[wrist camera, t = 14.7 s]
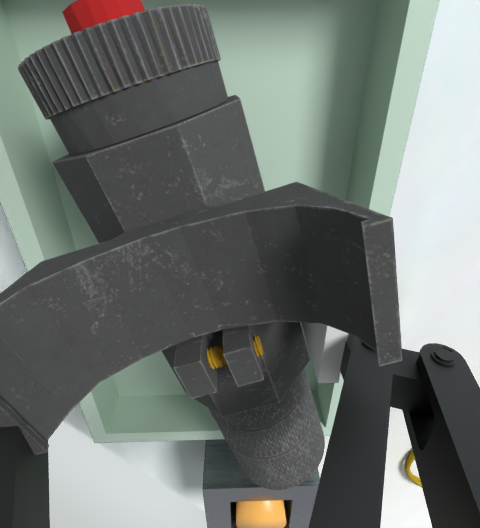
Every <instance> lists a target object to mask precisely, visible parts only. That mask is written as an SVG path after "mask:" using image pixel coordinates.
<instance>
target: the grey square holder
mask: <svg viewBox="0 0 480 528" xmlns="http://www.w3.org/2000/svg"><path fill="white" fill-rule="evenodd" d="M319 482H320V477H319V473H318V468H317V469H316V470H315V472H314V473H313V474H312V475H311V476H310V477H309V478H308V479H307V480H306V481H304V482H303V483H301V484H300V485H298V486H296V487H293V488H290V489H286V490H269V489H265V488H262V487H260V486H258V485H256V484H255V483H253V482H252V481H251V480H250V479H249V478H247V476H246V475H245V474H244V472H243V471H242V469H241V467H240V465H239V463H238V461H237V459H236V457H235V455H234V454H233V452H232V450H231V448H230V446H229V445H228V443H227V442H226V440H225V439H214V440H206V445H205V459H204V474H203V489H202V490H203V497H204V505H205V513H206V521H207V528H237V526H236V502H243V501H274V500H284V508H285V516H286V525H285V527H284V528H308V527H309V523H310V519H311V515H312V511H313V507H314V502H315V498H316V494H317V490H318V486H319Z"/></svg>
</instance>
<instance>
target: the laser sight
mask: <svg viewBox="0 0 480 528" xmlns="http://www.w3.org/2000/svg"><path fill="white" fill-rule="evenodd" d="M62 13H63V15H64V18H65V20H66V22H67V25H68V27H69V29H70V32H71V35H69V36H66V37H62V38H61V39H60V40H57V41H54V42H52V43H51V44H49V45H46V46H44V47H42V49H39V50H37V51H35V53H33V54H30V55H29V57H27V58H24V61H22V62H21V64H19V67H17V68H18V71H19V73H20V74H21V76H22V78H23V80H24V82H25V83H26V85H27V87H28V89H29V91H30V92H31V94H32V96H33V98H34V100H35V101H36V103H37V105H38V107H39V109H40V111H41V112H42V114H43V116H44V118H45V120H47V119H48V120H49V119H50V120H51V122H52V124H53V126H54V127H55V129H56V131H57V133H58V135H59V136H60V138H61V140H62V142H63V144H64V145H65V147H66V149H67V151H68V153H69V154H67V155H65V156H64V157H62V158H60V159H58V160H56V161H54V162H52V163H53V165H54V166H55V168H56V170H57V172H58V173H59V175H60V177H61V179H62V180H63V182H64V184H65V185H66V187H67V189H68V191H69V192H70V194H71V196H72V197H73V199H74V201H75V203H76V204H77V206H78V208H79V210H80V211H81V213H82V215H83V216H84V218H85V220H86V222H87V223H88V225H89V227H90V229H91V230H92V232H93V234H94V235H95V237H96V239H97V241H98V242H99V244H96V245H93V246H89V247H86V248H83V249H80V250H76V251H73V252H70V253H67V254H64V255H60V256H57V257H54V258H51V259H48V260H44V261H41V262H40V263H38V264H37V265H36V266H35V267H33V268H32V269H31V270H30V271H28V272H27V273H26V274H24V275H23V276H22V277H21V278H19V279H18V280H17V281H16V282H14V283H13V284H12V285H10V286H9V287H8V288H7V289H5V290H4V291H3V292H2V293H0V427H10V426H19V428H20V429H21V431H22V433H23V435H24V437H25V439H26V440H27V442H28V444H29V446H30V448H31V449H32V451H33V453H34V455H38V454H41V453H45V452H47V451H48V446H49V445H48V444H47V443H46V442H47V440H48V439H49V438H50V436H51V435H52V434H53V433H54V431H55V430H56V429H57V427H58V426H59V425H60V423H61V422H62V421H63V420H64V418H65V417H66V416H67V415H68V413H69V412H70V411H71V410H72V409H73V408H74V407H75V406H76V405H77V404H78V403H79V402H80V401H81V400H82V399H83V398H84V397H85V396H86V395H87V394H88V393H89V392H91V391H92V390H93V389H94V388H95V387H96V386H97V385H98V384H99V383H100V382H102V381H103V380H105V379H107V378H109V377H111V376H112V375H114V374H116V373H118V372H120V371H121V370H123V369H125V368H127V367H129V366H131V365H132V364H134V363H136V362H138V361H140V360H141V359H143V358H145V357H147V356H150V355H152V354H155V353H157V352H159V351H162V353H163V355H164V356H165V358H166V360H167V361H168V363H169V365H170V367H171V368H172V370H173V372H174V374H175V375H176V377H177V379H178V380H179V382H180V384H181V386H182V387H183V389H184V391H185V392H186V393H187V394H188V395H189V396H190V398H191V399H193V398H194V399H196V400H197V401H199V402H200V403H202V404H203V405H204V406H206V407H207V408H208V409H209V411H210V412H211V414H212V416H213V418H214V419H215V421H216V422H217V424H218V426H219V428H220V430H221V432H222V434H223V436H224V438H225V440H226V442H227V443H228V445H229V446H230V448H231V450H232V452H233V454H234V455H235V457H236V459H237V461H238V463H239V465H240V467H241V469H242V471H243V472H244V474H245V475H246V476H247V478H249V479H250V480H251V481H252V482H253V483H255V484H256V485H258V486H260V487H262V488H265V489H269V490H286V489H290V488H293V487H296V486H298V485H300V484H301V483H303V482H304V481H306V480H307V479H308V478H309V477H310V476H311V475H312V474H313V473H314V472H315V470H316V469H317V467H318V466H319V464H320V462H321V459H322V456H323V453H324V444H325V441H324V433H323V430H322V427H321V424H320V421H319V417H318V412H317V410H316V406H315V402H314V398H313V394H312V392H311V389H310V386H309V382H308V378H307V374H306V370H305V367H306V365H307V364H308V362H309V361H310V357H309V353H308V349H307V346H306V342H305V338H304V334H303V331H302V327H301V323H300V322H304V323H322V324H324V325H327V326H330V327H332V328H335V329H338V330H340V331H343V332H346V333H348V334H351V335H354V336H356V337H357V338H359V339H360V340H361V341H363V342H364V343H366V344H367V345H368V346H370V347H371V348H372V349H374V350H375V351H376V352H377V357H378V364H379V366H383V365H387V364H391V363H395V362H399V361H402V348H401V333H400V318H399V304H398V289H397V274H396V259H395V245H394V230H393V218H391V217H389V216H386V215H383V214H381V213H378V212H376V211H373V210H370V209H368V208H365V207H362V206H360V205H357V204H354V203H352V202H349V201H347V200H344V199H341V198H339V197H336V196H333V195H331V194H328V193H326V192H323V191H320V190H318V189H315V188H312V187H310V186H307V185H305V184H302V183H299V182H294V183H290V184H287V185H284V186H281V187H278V188H275V189H271V190H268V191H265V189H264V185H263V181H262V178H261V174H260V170H259V166H258V163H257V159H256V155H255V151H254V148H253V144H252V140H251V136H250V133H249V129H248V125H247V122H246V118H245V114H244V110H243V107H242V103H241V99H240V98H239V97H238V96H237V95H233V96H229V97H228V96H227V92H226V88H225V85H224V81H223V77H222V74H221V70H220V66H219V63H218V62H219V61H220V60H221V57H220V54H219V50H218V46H217V43H216V39H215V36H214V32H213V29H212V25H211V21H210V18H209V14H208V11H207V7H206V8H205V6H202V5H198V4H195V5H193V4H189V5H187V4H183V5H179V4H178V5H174V6H166V7H159V8H156V9H151V10H146V11H145V9H144V6H143V3H142V0H77V1H75V2H73V3H71V4H70V5H69V6H68V7H67V8H66V9H65V10H64V11H63V12H62ZM18 414H20V416H19V415H18Z"/></svg>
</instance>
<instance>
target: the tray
mask: <svg viewBox="0 0 480 528" xmlns="http://www.w3.org/2000/svg"><path fill="white" fill-rule="evenodd" d="M75 1H77V0H0V202H1V205H2V208H3V210H4V213H5V215H6V218H7V220H8V223H9V225H10V228H11V231H12V233H13V236H14V238H15V241H16V243H17V246H18V248H19V251H20V254H21V256H22V259H23V261H24V264H25V266H26V269H27V271H30V270H31V269H32V268H33V267H35V266H36V265H37V264H38V263H40V262H41V261H44V260H48V259H51V258H54V257H57V256H60V255H64V254H67V253H70V252H73V251H76V250H80V249H83V248H86V247H89V246H93V245H96V244H99V242H98V241H97V239H96V237H95V235H94V234H93V232H92V230H91V229H90V227H89V225H88V223H87V222H86V220H85V218H84V216H83V215H82V213H81V211H80V210H79V208H78V206H77V204H76V203H75V201H74V199H73V197H72V196H71V194H70V192H69V191H68V189H67V187H66V185H65V184H64V182H63V180H62V179H61V177H60V175H59V173H58V172H57V170H56V168H55V166H54V165H53V163H52V162H54V161H56V160H58V159H60V158H62V157H64V156H65V155H67V154H69V153H68V151H67V149H66V147H65V145H64V144H63V142H62V140H61V138H60V136H59V135H58V133H57V131H56V129H55V127H54V126H53V124H52V122H51V120H50V119H49V120H48V119H47V120H45V118H44V116H43V114H42V112H41V111H40V109H39V107H38V105H37V103H36V101H35V100H34V98H33V96H32V94H31V92H30V91H29V89H28V87H27V85H26V83H25V82H24V80H23V78H22V76H21V74H20V73H19V71H18V68H17V67H19V64H21V62H22V61H24V58H27V57H29V55H30V54H33V53H35V51H37V50H39V49H42V47H44V46H46V45H49V44H51V43H52V42H54V41H57V40H60V39H61V38H62V37H66V36H69V35H71V32H70V29H69V27H68V25H67V22H66V20H65V18H64V15H63V13H62V12H63V11H64V10H65V9H66V8H67V7H68V6H69V5H70V4H71V3H73V2H75ZM439 1H440V0H142V3H143V6H144V9H145V11H146V10H151V9H156V8H159V7H166V6H174V5H178V4H179V5H183V4H187V5H189V4H193V5H195V4H198V5H202V6H205V8H206V7H207V11H208V14H209V18H210V21H211V25H212V29H213V32H214V36H215V39H216V43H217V46H218V50H219V54H220V57H221V60H220V61H219V62H218V63H219V66H220V70H221V74H222V77H223V81H224V85H225V88H226V92H227V96H228V97H229V96H233V95H237V96H238V97H239V98H240V99H241V103H242V107H243V110H244V114H245V118H246V122H247V125H248V129H249V133H250V136H251V140H252V144H253V148H254V151H255V155H256V159H257V163H258V166H259V170H260V174H261V178H262V181H263V185H264V189H265V191H268V190H271V189H275V188H278V187H281V186H284V185H287V184H290V183H294V182H299V183H302V184H305V185H307V186H310V187H312V188H315V189H318V190H320V191H323V192H326V193H328V194H331V195H333V196H336V197H339V198H341V199H344V200H347V201H349V202H352V203H354V204H357V205H360V206H362V207H365V208H368V209H370V210H373V211H376V212H378V213H381V214H383V215H386V216H390V211H391V207H392V203H393V199H394V194H395V190H396V186H397V181H398V177H399V173H400V168H401V164H402V160H403V156H404V151H405V147H406V143H407V138H408V134H409V130H410V125H411V121H412V117H413V113H414V108H415V104H416V100H417V95H418V91H419V87H420V82H421V78H422V74H423V70H424V65H425V61H426V57H427V52H428V48H429V44H430V39H431V35H432V31H433V26H434V22H435V18H436V14H437V9H438V5H439ZM300 323H301V322H300ZM301 327H302V324H301ZM302 331H303V328H302ZM303 334H304V331H303ZM304 338H305V335H304ZM305 342H306V338H305ZM306 346H307V342H306ZM307 349H308V346H307ZM308 353H309V349H308ZM309 357H310V361H309V362H308V364H307V365H306V367H305V370H306V374H307V378H308V382H309V386H310V389H311V392H312V394H313V398H314V402H315V406H316V410H317V412H318V417H319V421H320V424H321V427H322V430H323V433H324V436H331V432H332V428H333V423H334V419H335V415H336V411H337V407H338V403H339V398H340V394H341V390H342V386H343V382H344V380H343V377H342V374H341V373H340V378H339V383H318V381H317V378H316V374H315V370H314V367H313V363H312V360H311V356H310V353H309ZM79 404H80V407H81V409H82V412H83V415H84V417H85V420H86V422H87V425H88V427H89V430H90V432H91V435H92V438H93V440H94V443H113V442H146V441H180V440H214V439H225V438H224V436H223V434H222V432H221V430H220V428H219V426H218V424H217V422H216V421H215V419H214V418H213V416H212V414H211V412H210V411H209V409H208V408H207V407H206V406H204V405H203V404H202V403H200V402H199V401H197V400H196V399H194V398H193V399H191V398H190V396H189V395H188V394H187V393H186V392H185V391H184V389H183V387H182V386H181V384H180V382H179V380H178V379H177V377H176V375H175V374H174V372H173V370H172V368H171V367H170V365H169V363H168V361H167V360H166V358H165V356H164V355H163V353H162V351H159V352H157V353H155V354H152V355H150V356H147V357H145V358H143V359H141V360H140V361H138V362H136V363H134V364H132V365H131V366H129V367H127V368H125V369H123V370H121V371H120V372H118V373H116V374H114V375H112V376H111V377H109V378H107V379H105V380H103V381H102V382H100V383H99V384H98V385H97V386H96V387H95V388H94V389H93V390H92V391H91V392H89V393H88V394H87V395H86V396H85V397H84V398H83V399H82V400H81V401H80V402H79Z"/></svg>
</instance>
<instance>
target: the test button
mask: <svg viewBox="0 0 480 528" xmlns="http://www.w3.org/2000/svg"><path fill="white" fill-rule="evenodd" d="M285 525H286V516H285V508H284V500H274V501H243V502H236V526H237V528H284V527H285Z"/></svg>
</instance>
